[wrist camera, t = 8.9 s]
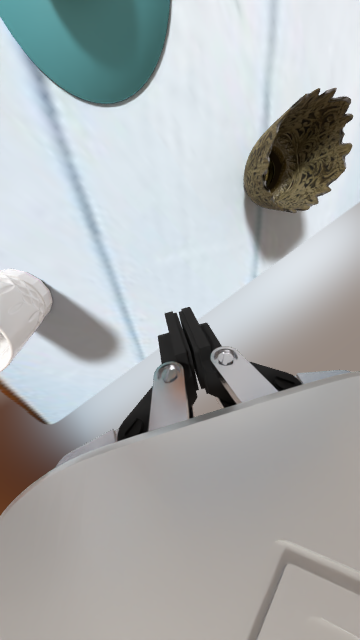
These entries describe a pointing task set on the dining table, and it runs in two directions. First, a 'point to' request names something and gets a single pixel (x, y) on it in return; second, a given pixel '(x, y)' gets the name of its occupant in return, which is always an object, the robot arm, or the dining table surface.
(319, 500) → the robot arm
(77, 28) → the disc
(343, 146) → the cup
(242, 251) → the dining table surface
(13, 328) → the white cup
